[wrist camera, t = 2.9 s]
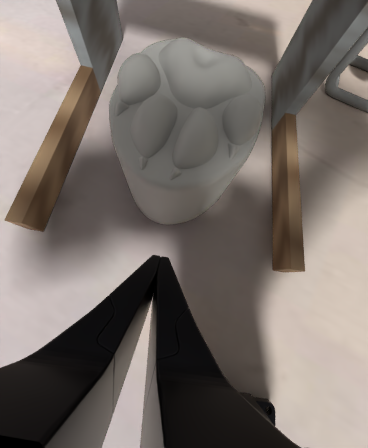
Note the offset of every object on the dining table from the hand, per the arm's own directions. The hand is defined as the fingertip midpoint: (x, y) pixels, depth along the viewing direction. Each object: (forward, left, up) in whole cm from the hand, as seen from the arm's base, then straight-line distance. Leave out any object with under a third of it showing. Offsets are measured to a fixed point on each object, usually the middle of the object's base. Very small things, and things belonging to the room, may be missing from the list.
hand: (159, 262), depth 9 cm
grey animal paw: (+10, 0, -7) cm, 13 cm away
